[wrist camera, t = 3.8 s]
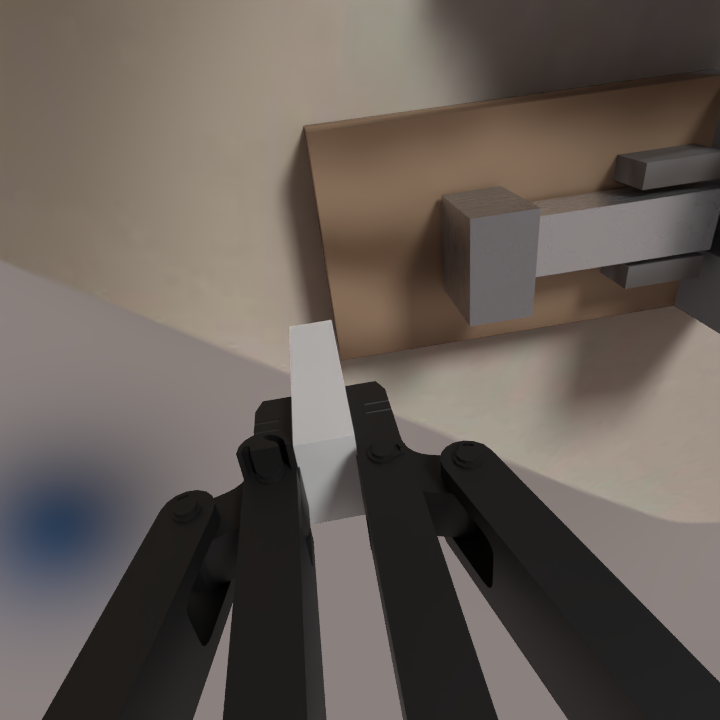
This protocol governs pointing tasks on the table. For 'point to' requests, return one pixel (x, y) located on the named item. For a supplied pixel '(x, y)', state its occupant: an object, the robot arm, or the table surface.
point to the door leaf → (491, 169)
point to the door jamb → (705, 268)
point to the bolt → (561, 239)
